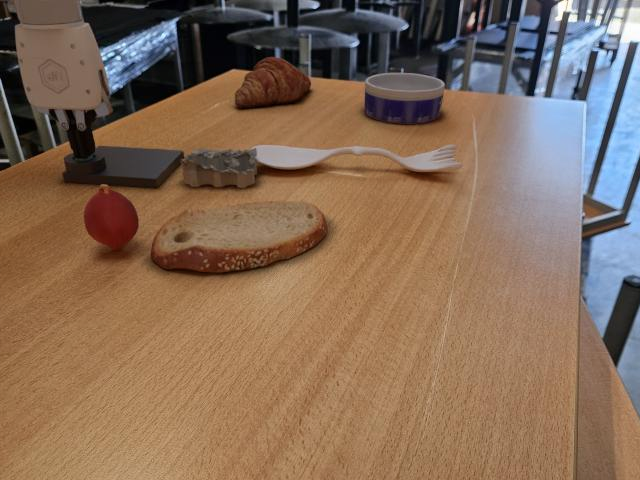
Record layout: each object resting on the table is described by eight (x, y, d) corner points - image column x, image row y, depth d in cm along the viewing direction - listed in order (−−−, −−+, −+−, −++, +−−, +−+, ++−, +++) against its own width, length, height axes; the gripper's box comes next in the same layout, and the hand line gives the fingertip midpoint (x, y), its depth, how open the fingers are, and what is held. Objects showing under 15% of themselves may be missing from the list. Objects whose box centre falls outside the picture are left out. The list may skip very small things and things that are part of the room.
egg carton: (179, 187, 82) (175, 159, 80) (192, 168, 88) (188, 142, 86) (253, 190, 81) (251, 161, 79) (261, 170, 88) (259, 143, 85)
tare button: (73, 168, 83) (70, 158, 82) (81, 162, 85) (79, 151, 84) (90, 169, 82) (88, 159, 82) (98, 163, 85) (96, 152, 84)
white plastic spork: (460, 185, 84) (464, 162, 82) (245, 175, 86) (244, 153, 84) (454, 163, 91) (457, 141, 89) (256, 155, 93) (254, 133, 91)
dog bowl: (374, 99, 121) (376, 69, 118) (446, 107, 118) (450, 75, 114) (354, 119, 110) (356, 86, 106) (434, 128, 106) (438, 94, 102)
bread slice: (335, 220, 74) (336, 193, 72) (288, 292, 60) (287, 260, 58) (208, 202, 78) (205, 176, 76) (137, 265, 64) (130, 235, 62)
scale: (61, 182, 83) (56, 162, 81) (99, 154, 93) (95, 135, 91) (156, 188, 81) (153, 168, 80) (184, 159, 91) (182, 140, 89)
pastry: (310, 110, 114) (310, 67, 110) (233, 109, 114) (230, 66, 109) (311, 89, 128) (311, 50, 123) (242, 88, 128) (239, 49, 123)
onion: (91, 241, 68) (74, 177, 64) (140, 234, 70) (128, 171, 65) (93, 264, 64) (76, 197, 59) (146, 256, 66) (133, 190, 61)
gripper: (-24, 15, 70) (22, 162, 80) (93, 18, 68) (124, 167, 79) (11, 6, 76) (49, 144, 86) (119, 9, 74) (144, 149, 85)
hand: (85, 155), depth 83 cm, fingers closed
